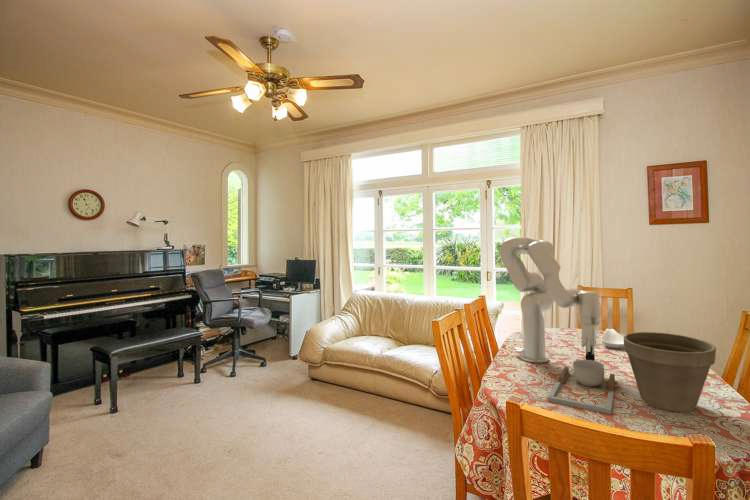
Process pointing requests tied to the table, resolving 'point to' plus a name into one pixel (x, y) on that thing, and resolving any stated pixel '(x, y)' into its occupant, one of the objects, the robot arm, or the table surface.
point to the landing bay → (581, 404)
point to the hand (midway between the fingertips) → (590, 362)
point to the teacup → (588, 372)
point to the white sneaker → (612, 339)
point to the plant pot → (669, 368)
